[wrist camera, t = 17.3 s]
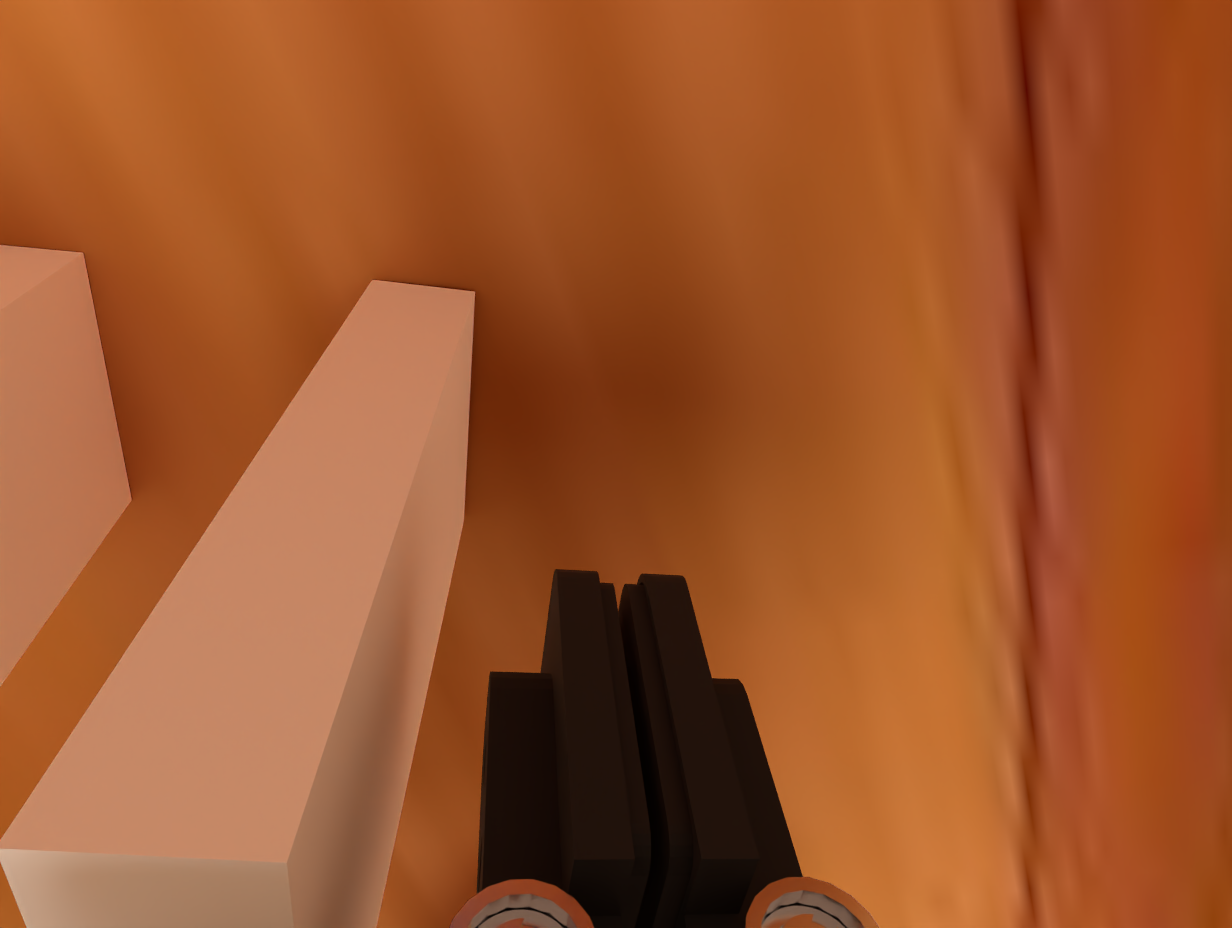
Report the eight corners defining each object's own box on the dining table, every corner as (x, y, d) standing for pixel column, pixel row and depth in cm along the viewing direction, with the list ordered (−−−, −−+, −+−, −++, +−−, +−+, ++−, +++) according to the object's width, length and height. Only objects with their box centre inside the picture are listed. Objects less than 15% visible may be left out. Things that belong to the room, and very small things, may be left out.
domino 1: (475, 291, 15) (286, 862, 5) (463, 520, 17) (322, 1178, 8) (372, 279, 15) (-5, 848, 5) (376, 512, 17) (124, 1176, 8)
